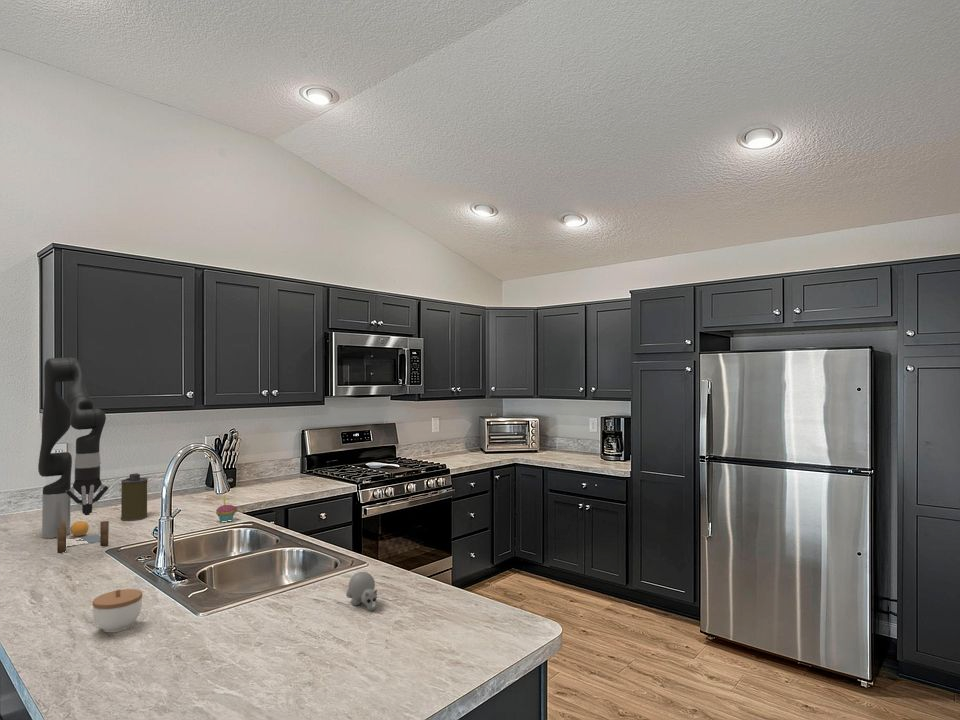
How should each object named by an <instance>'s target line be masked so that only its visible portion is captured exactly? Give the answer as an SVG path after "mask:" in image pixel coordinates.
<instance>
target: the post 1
mask: <svg viewBox="0 0 960 720" xmlns="http://www.w3.org/2000/svg"><path fill="white" fill-rule="evenodd" d="M66 539H67V535H66V527H59V528H58V537H57V548H56V549H57V550H56V551H57V554H58V553H61V554H63V553H62V552H65V551H66V552H67V547H66ZM66 552H65V553H66Z"/></svg>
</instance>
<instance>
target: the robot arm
mask: <svg viewBox="0 0 960 720" xmlns="http://www.w3.org/2000/svg"><path fill="white" fill-rule="evenodd" d="M44 363H45V364H44V368H43V370H44V371H43V375H44V376H43V377H44V379H43V380H44V385H43V386H44V394H43V395H44V396H43V397H44V399H43V408H42V409H43V410H42V419H41V444H40V450H39V457H38V466H37V467H38V469H37V470H38V471H37V472H38V474H39V476H41V477H44V478H45V477H47V478H48V477H58V476H60V477H59V478H58V479H57V480H56V481H53V482H51V483H48V484H46V485H45V486H43V487H42V499H41V501H42V508H41V509H42V511H41V512H42V513H41V514H42V515H41V516H42V518H41V521H42V522H41V523H42V524H41V526H42V527H41V538H43V539H55V538H54V537H56V538H58V528H59V527H66V536H69V535H70V534H71V503H72V502H71V499H72V500H73V501H74V502H75V503H76V504H78V505H81V507H82V508H81V512H82V514H83V515H84V516H89V515H91V514H92V513H93V504H94V503H96V502H98V501H99V500H100V499H101V498H102V497H103V495H104V494H105V493H106V492H107V491H108V489H109V487H108V485H105V484H104V483H103V482H102V480H101V455H100V447H101V446H100V441H101V437H102V432H103V430H104V426H105V424H106V420H107V417H106V413H105V411H103V409H100V408H94V402H93V400H92V398H91V396H90V394H89V392H88V389H87V386H86V381H85V376H84V372H83V369H82V366H81V365H82V364H81V363H80V361H79V359H77V358H76V357H51V358H48V359H47V360H46V361H45V362H44ZM63 382H64V383H66V382H72V384H71V385H70V386H69V387H68V389H67V391H66V394H65V399H64V398H63V396H61V394H60V392H59V391H58V389H57V383H63ZM93 408H94V409H93ZM70 428H73V429H75V430H79V431H81V430H90V432H89V433H88V434H86V435H81V436H79V437H77V438H76V439H75V456H74V457H75V458H74V482H73V484H72V480H71V479H72V478H71V477H72V467H73V466H72V465H73V464H72V463H73V458H72V454H71V453H70V452H68V451H66V452H65V451H64V452H52V451H53V449H54V447H55V445H56V444H57V443H58V441H59V440H60V439H61V438H63V436H64V435H65V434H66V433H67V432H68V431H69V430H70ZM71 484H72V485H71ZM98 490H99V492H98V493H97V494H96V495H95V496H94V494H95V493H96V492H97V491H98ZM75 491H76V492H77V493H78V494H79V495H81V499H79V498H78V497H77V496H76V495H75V493H76V492H75ZM68 534H69V535H68Z"/></svg>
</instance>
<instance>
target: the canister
mask: <svg viewBox="0 0 960 720" xmlns="http://www.w3.org/2000/svg"><path fill="white" fill-rule="evenodd" d="M120 482H121V494H120V495H121V496H120V497H121V503H120V504H121V507H120V508H121V515H120V516H121V517H120V520H121V521H122V522H131V521H132V522H134V521H141V520H145V519H147V518H148V477H147V478H146V477H141V473H136V472H134V473H130V474H129V477H127V478H125V479H122V480H121V481H120Z"/></svg>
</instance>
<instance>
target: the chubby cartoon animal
mask: <svg viewBox="0 0 960 720" xmlns="http://www.w3.org/2000/svg"><path fill="white" fill-rule="evenodd" d="M375 586H376V583H375V578H374V577H373V576H372V574H370V573H369V572H367V571H359V572H357V573H354V574H353V575H352V576H351V578H350V579H349V582H348V587H347V589H346V593H345V595H346V597H347V598H349V599H351V601H350V603H351V605H352V606H354V607H358V606H359V605H361V602H362V603H363V604H364V605H365V606H366V608H367V610H368V611H371V612H372V611H373V612H374V611H375V610H376V609H377V607H378V602H377V601H378V600H377V599H378V595H377V594H378V593H377V592H378V589H375Z"/></svg>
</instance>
